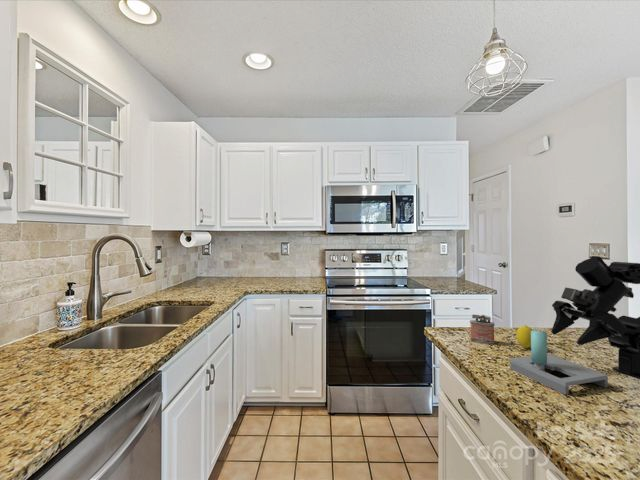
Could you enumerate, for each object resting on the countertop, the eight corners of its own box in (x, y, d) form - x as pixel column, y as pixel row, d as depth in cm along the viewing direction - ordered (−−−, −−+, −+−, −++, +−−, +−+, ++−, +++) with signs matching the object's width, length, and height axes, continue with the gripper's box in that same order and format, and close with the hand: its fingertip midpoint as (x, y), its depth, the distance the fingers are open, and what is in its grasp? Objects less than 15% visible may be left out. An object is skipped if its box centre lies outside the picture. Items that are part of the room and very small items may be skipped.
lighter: (495, 342, 115) (494, 315, 115) (494, 345, 112) (494, 317, 112) (470, 339, 119) (470, 312, 119) (469, 341, 116) (469, 314, 116)
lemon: (517, 344, 112) (517, 322, 112) (536, 347, 108) (535, 324, 108) (515, 349, 108) (514, 325, 108) (534, 352, 104) (534, 328, 104)
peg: (538, 371, 90) (537, 329, 90) (553, 377, 86) (552, 333, 86) (526, 372, 89) (525, 330, 89) (540, 379, 84) (539, 335, 84)
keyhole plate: (547, 363, 95) (547, 353, 95) (607, 386, 80) (607, 375, 80) (510, 368, 92) (510, 358, 92) (565, 394, 76) (565, 382, 76)
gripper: (557, 274, 96) (522, 310, 96) (613, 282, 78) (570, 327, 78) (583, 299, 96) (548, 335, 96) (646, 313, 78) (602, 358, 78)
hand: (564, 338), depth 87 cm, fingers open, 9 cm apart
